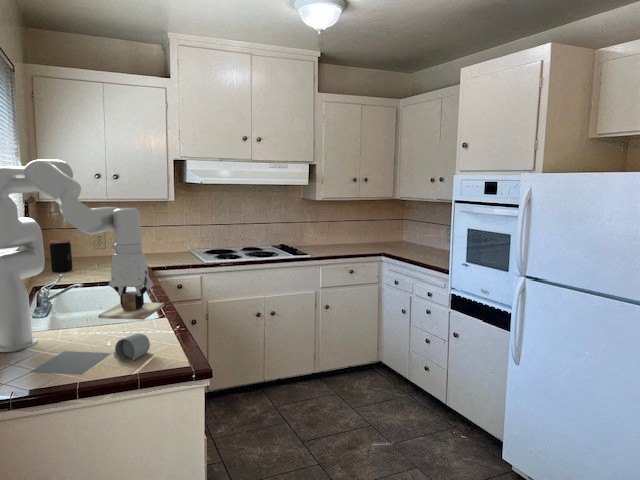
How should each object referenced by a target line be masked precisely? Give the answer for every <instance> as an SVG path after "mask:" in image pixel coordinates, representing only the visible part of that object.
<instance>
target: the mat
mask: <svg viewBox="0 0 640 480" xmlns="http://www.w3.org/2000/svg"><path fill="white" fill-rule="evenodd" d="M111 354H112V352H94V351H93V352H92V351H74V350H73V351H72V350H70V351H68V350H64V351H62V352H61V353H59V354H57V355H56V356H54V357H52V358H51V359H49V360H48V361H45V362H44V363H42V364H41V365H39V366H37V367H35V368H34V369H32V370H30V371H29V373H41V374H58V375H59V374H61V375H63V374H64V375H79V376H80V375H81V376H82V375H83V374H85V373H86V372H87V371H89V370H90V369H91V368H93V367H94V366H96V365H97V364H98V363H100V362H101V361H103V360H104V359H106V358H107V357H108V356H110V355H111Z"/></svg>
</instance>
